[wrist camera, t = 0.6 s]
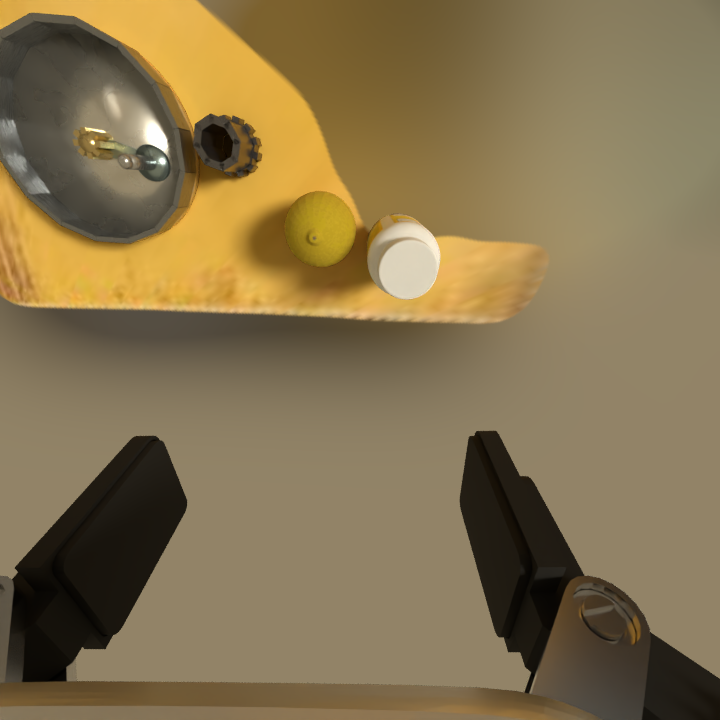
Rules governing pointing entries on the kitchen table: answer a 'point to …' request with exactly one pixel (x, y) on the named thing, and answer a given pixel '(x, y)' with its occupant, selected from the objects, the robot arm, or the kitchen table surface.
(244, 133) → the gear
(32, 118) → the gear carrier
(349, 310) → the kitchen table surface
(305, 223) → the lemon
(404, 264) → the supplement bottle
